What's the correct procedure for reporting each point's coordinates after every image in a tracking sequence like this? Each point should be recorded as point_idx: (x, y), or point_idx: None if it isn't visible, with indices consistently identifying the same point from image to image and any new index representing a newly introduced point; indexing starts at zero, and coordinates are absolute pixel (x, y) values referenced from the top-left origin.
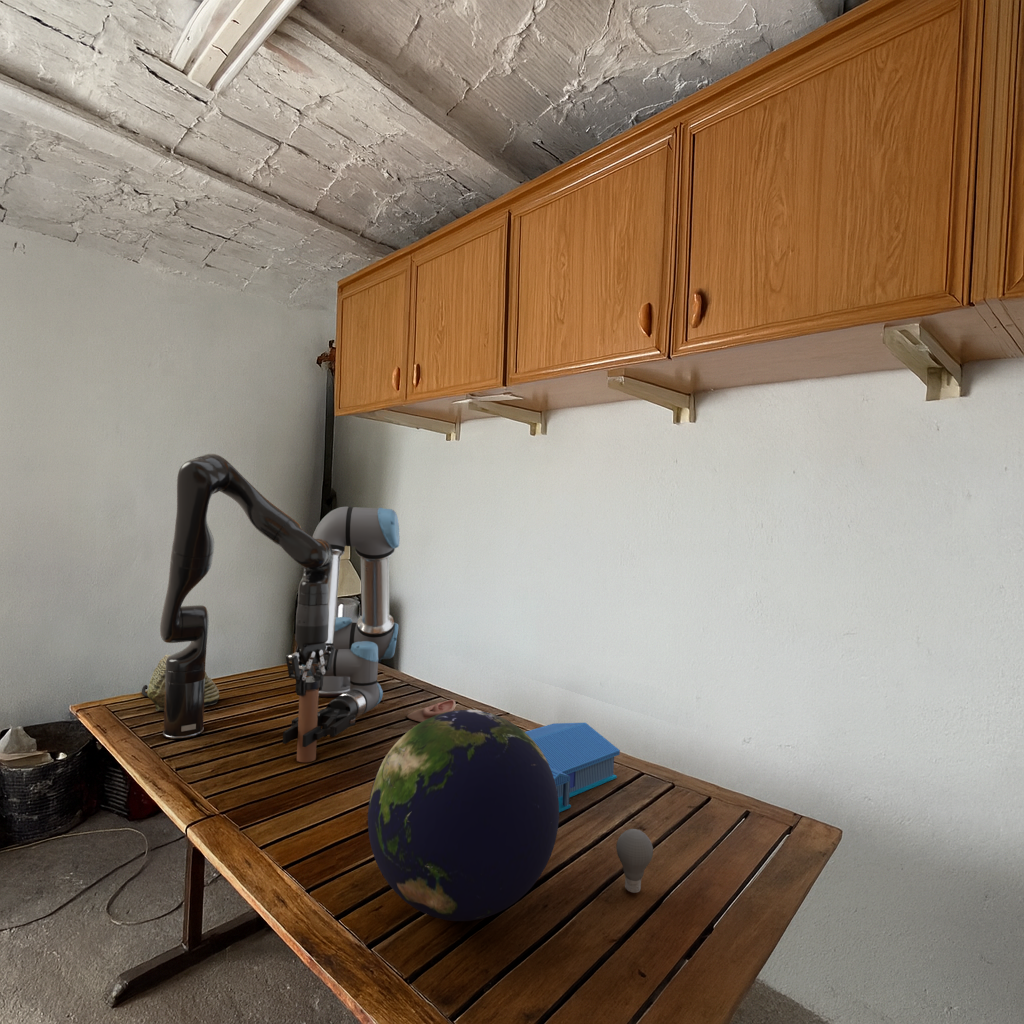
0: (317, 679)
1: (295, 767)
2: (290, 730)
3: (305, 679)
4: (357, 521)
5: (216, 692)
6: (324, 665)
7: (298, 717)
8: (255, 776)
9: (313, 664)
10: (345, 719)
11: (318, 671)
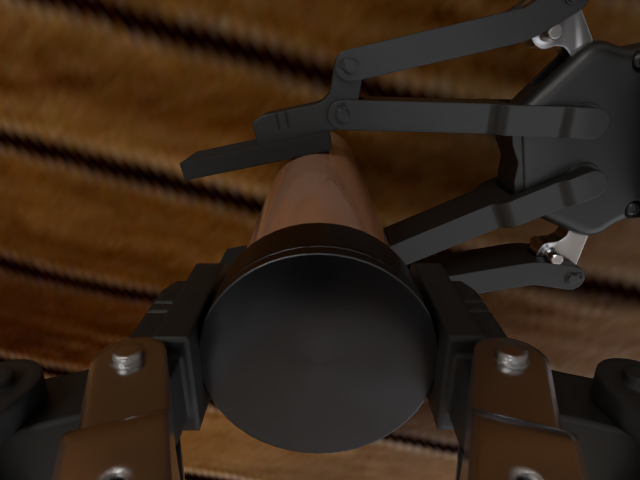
0: (371, 416)
1: (242, 187)
2: (225, 171)
3: (296, 325)
4: None
5: None
6: (621, 471)
7: (271, 189)
8: (100, 123)
9: (465, 458)
10: (500, 285)
11: (465, 426)
